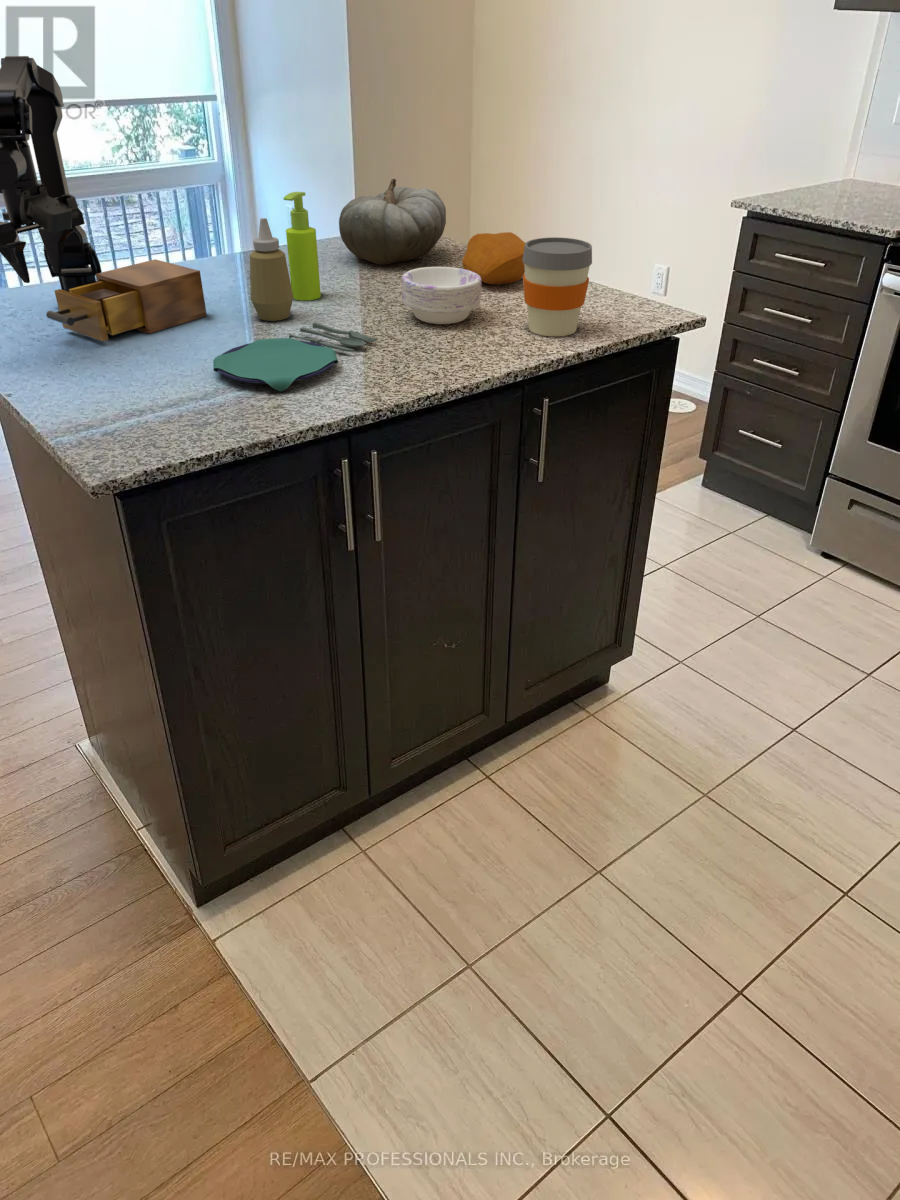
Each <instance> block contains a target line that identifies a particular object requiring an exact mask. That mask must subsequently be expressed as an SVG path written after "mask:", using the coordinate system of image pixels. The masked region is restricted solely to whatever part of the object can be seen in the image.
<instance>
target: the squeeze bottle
mask: <svg viewBox="0 0 900 1200" xmlns="http://www.w3.org/2000/svg"><path fill="white" fill-rule="evenodd" d="M252 243H253V251H252V252H251V253H250V254H249V278H250V281H249V282H250V286H249V287H250V301H251V303H252V306H253V308H254V310H255V312H256V314H257V316H258V318H259V319H260V320H263V321H267V322H268V321H270V322H273V321H274V322H275V321H282V320H285V319H288V318H289V317H290V314H291V309H292V305H293V301H294V299H293V293H292V287H291V279H290V271H289V268H288V267H289V266H288V261H287V258H286V253H285V252H284V251H283V250H282V249H280V242H279V238H277V237H274V236H273V233H272V230H271V227H270V225H269V221H268V219H267V217H260V219H259V228H258V237H255V238H254V239H253V241H252Z"/></svg>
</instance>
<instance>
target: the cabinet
mask: <svg viewBox="0 0 900 1200" xmlns="http://www.w3.org/2000/svg"><path fill="white" fill-rule="evenodd" d="M95 278H96V281H97V282H100V281H104V280H105V281H108V282H111V283H115V284H118V285H122V286H125V287H129V288H132V289H136V290H138V291H139V296H140V301H141V307H142V312H143V317H144V322H145V326H142V327H139V328H135V329H134V330H137V331H139V332H142V333H145V334H149V335H150V334H153V333H156V332H160V331H162V330H166V329H169V328H173V327H176V326H179V325H183V324H186V323H189V322H191V321H195V320H198V319H202V318H205V317H208V314H207V309H206V302H205V295H204V288H203V282H202V276H201V271H200V270H198V269H195V268H191V267H187V266H183V265H180V264H175V263H172V262H167V261H163V260H159V259H151V260H147V261H143V262H138V263H134V264H131V265H125V266H122V267H118V268H113V269H110V270H105V271H102V272H101V273H97V274H96V276H95Z"/></svg>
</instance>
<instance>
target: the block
mask: <svg viewBox="0 0 900 1200" xmlns="http://www.w3.org/2000/svg"><path fill="white" fill-rule="evenodd" d="M117 295H120V293H117V292H114V291H111V290H107V289H100V290H96V291H92V292H89V293H85V294H81V296H84V297H87V298H90V299H94V300H97V301H100V303H101V307H102V312H103V316H104V321H105V325H106V326H108V324H107V319H106V314H105V310H104V305H103V301H102V299H105V298H109V297H113V296H117Z"/></svg>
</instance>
